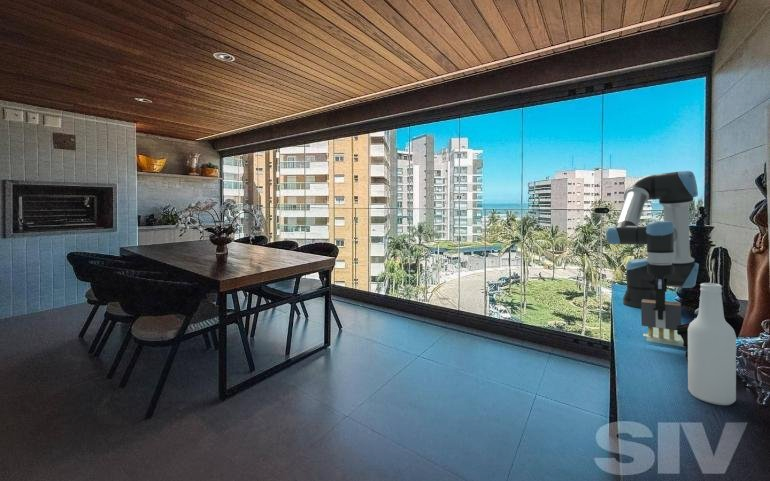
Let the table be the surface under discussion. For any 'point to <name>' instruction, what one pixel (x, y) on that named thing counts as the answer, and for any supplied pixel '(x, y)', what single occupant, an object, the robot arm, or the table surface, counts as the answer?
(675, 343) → the header board
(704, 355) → the alcohol
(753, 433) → the table surface
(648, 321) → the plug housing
